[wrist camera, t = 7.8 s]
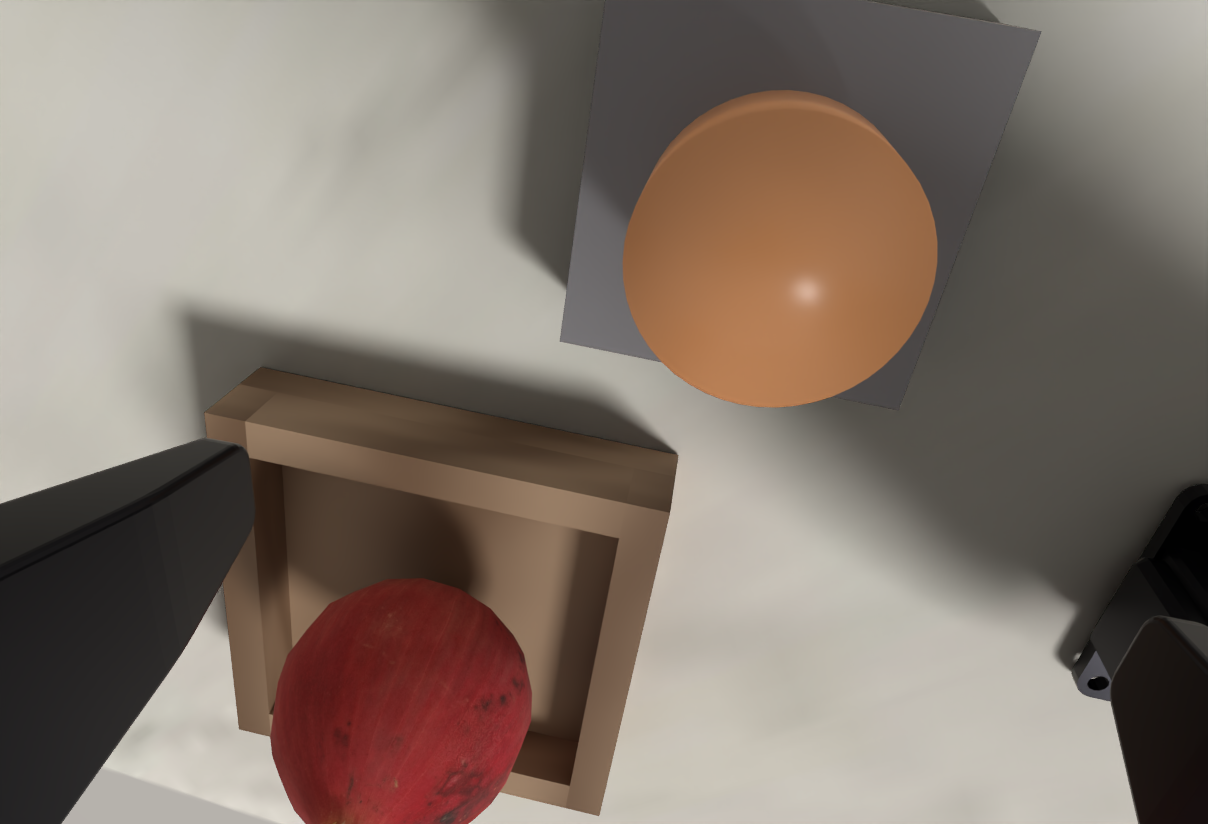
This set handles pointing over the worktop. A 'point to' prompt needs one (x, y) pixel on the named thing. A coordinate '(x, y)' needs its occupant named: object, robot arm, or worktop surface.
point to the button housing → (800, 63)
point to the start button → (779, 251)
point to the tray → (450, 548)
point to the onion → (400, 708)
